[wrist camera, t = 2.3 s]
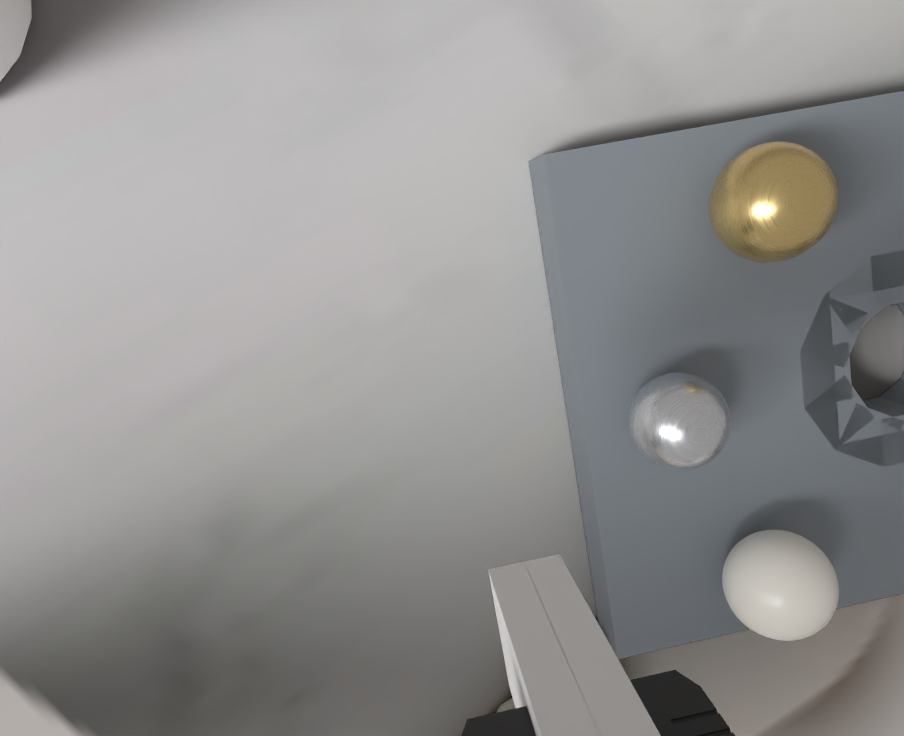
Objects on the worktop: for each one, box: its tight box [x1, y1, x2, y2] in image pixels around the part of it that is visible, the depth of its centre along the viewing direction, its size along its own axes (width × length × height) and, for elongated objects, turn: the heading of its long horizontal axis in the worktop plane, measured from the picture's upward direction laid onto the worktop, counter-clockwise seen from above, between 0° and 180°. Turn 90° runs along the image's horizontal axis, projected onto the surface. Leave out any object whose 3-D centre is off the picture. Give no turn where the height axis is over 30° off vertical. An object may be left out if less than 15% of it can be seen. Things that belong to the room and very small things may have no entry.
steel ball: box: [628, 372, 731, 471], centre depth 26 cm, size 4×4×4 cm
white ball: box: [722, 530, 839, 641], centre depth 27 cm, size 4×4×4 cm
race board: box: [529, 91, 904, 659], centre depth 28 cm, size 18×20×5 cm
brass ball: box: [709, 141, 838, 263], centre depth 25 cm, size 4×4×4 cm
